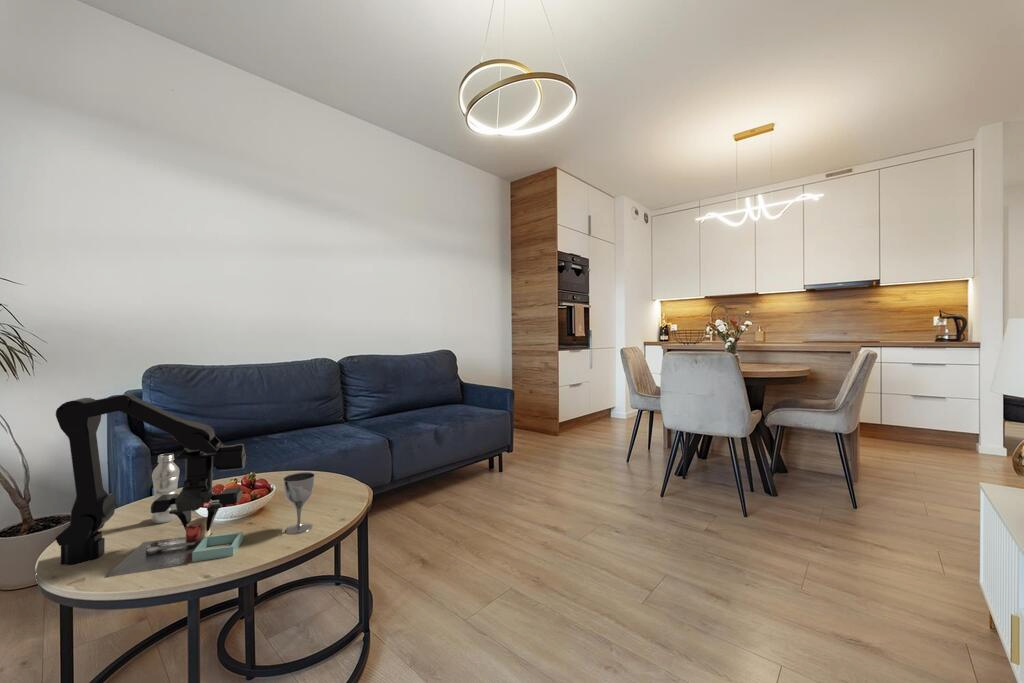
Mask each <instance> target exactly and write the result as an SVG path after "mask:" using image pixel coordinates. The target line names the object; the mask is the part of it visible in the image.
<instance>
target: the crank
mask: <svg viewBox="0 0 1024 683" xmlns="http://www.w3.org/2000/svg"><path fill="white" fill-rule="evenodd" d="M185 537H186V540H180V541H173V542H166V543H161V542H153V543H151V544H150V545H148V546H146V554H154V553H157V552H160V551H161V550H162V549H168V548H175V547H181V546H188V545H194V544H195V543H196V541H198V540H200V538H201V525H200V524H193V525H190V526H187V527H186V530H185Z"/></svg>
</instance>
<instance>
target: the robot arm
mask: <svg viewBox="0 0 1024 683" xmlns="http://www.w3.org/2000/svg"><path fill="white" fill-rule="evenodd" d="M116 412H121V413H123V414H126V415H129V417H132V418H135V419H136V420H139V421H140V422H143V423H145V424H147V425H149V426H152V427H154V428H156V429H158V430H159V431H160V430H161V431H163V432H165V433H168V435H169V436H171V437H172V438H173V439H174V441H176V442H177V443H179V444H180V445H181V446H183V447H184V449H182V451H181V452H180V453H179V454H178V455H176V456H175V457H174V460H185V469H184V470H185V478H184V479H185V480H183V484H182V485H183V486H182V489H181V491H180V492H179V493H177V494H169V495H162V496H161V497H159V498H158V499H157V500H155V501H154V500H153V501H152V503H151V505H150V514H152V513H159V512H165V511H166V510H168V509H169V508H170V506H171V511H170V512H169V513H170V514H175V515H176V516H178V517H177V518H178V519H179V521H180V522H181V524H182V526H183V528H184V530H185V531H186V527H187V524H188V523H189V522H190V521H191V520H192V512H195V511H198V510H200V508H201V507H202V505H204V504H208V503H210V505H209V506H208V507H207V508H206V511H207V516H206V517H207V531H209V530H210V531H211V527H212V525H213V523H214V520H215V518H216V515H217V513H218V511H219V509H222V507H223V506H228V505H235V504H238V502H239V501H240V500H241V499H242V497H243V490H242V488H241V487H230V488H225V489H224V490H223V491H222V492H219V493H213V492H214V487H213V477H214V472H213V468H214V469H215V470H216V471H217V470H218V471H219V472H225V471H235V470H243V469H245V467H246V458H247V454H246V451H245V444H244V443H238V444H233V445H232V444H230V445H224V444H223V442H222V441H221V440H220V439H218V437H217V436H216V433H215V429H214V428H213V427H212V426H210V425H209V424H205V423H202V422H199V421H193V420H189V419H188V420H187V419H185V418H184V419H183V418H181V417H179V416H177V415H174V414H173V413H170V412H169V411H167V410H164V409H162V408H160V407H158V406H156V405H154V404H152V403H149V402H147V401H145V400H143V399H141V398H139V397H137V396H136V395H135V394H133V393H124V394H120V395H116V396H111V397H110V396H109V397H105V398H98V399H94V398H92V397H83V398H78V399H73V400H70V401H66V402H64V403H61V405H60V406H58V408H56V410H55V417H56V420H57V423H58V425H59V428H60V430H61V431H62V432H63V433H64V435H65V436H66V437H67V439H68V442H69V447H70V456H71V457H70V458H71V464H72V472H73V480H74V487H75V488H74V489H75V494H76V496H75V500H74V502H73V505H72V509H71V511H70V518H69V519H70V520H69V525H68V527H66V528H65V529H64V530H63V531H62V532H60V534H58V535H57V536H56V537H55V541H56V543H57V545H58V546H59V547H60V565H66V566H74V565H80V564H83V563H86V562H89V561H93V560H94V561H95V560H98V559H99V558H101V557H102V556H103V555H104V554H105V544H106V543H105V537H103V531H101V529H103V527H104V526H105V524H106V523H107V522H108V521H109V520H111V518H112V517H113V516H114V515H115V511H116V509H118V508H119V507H118V505H117V502H116V497H117V496H116V495H117V494H116V493H115V492H112V493H108V492H107V491H106V490H105V489H104V485H103V478H102V477H103V476H102V470H101V461H100V460H101V459H100V454H99V446H98V445H99V444H98V438H97V437H98V435H97V433H98V432H97V431H98V429H99V426H100V425H101V424H100V423H101V421H102V415H106V414H111V413H116Z"/></svg>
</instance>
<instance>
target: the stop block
mask: <svg viewBox="0 0 1024 683" xmlns="http://www.w3.org/2000/svg"><path fill="white" fill-rule="evenodd" d="M207 517H208V516H203V517H194V518H191V521H190V522H189V523H188V524H187V526H190V525H193V524H200V525H201V538H200V540H198V541H196V543H197V542H201V541H202V540H203V539H204V538H205V537H207V536H210V533H211V529H210V530H209V531H207Z"/></svg>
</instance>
